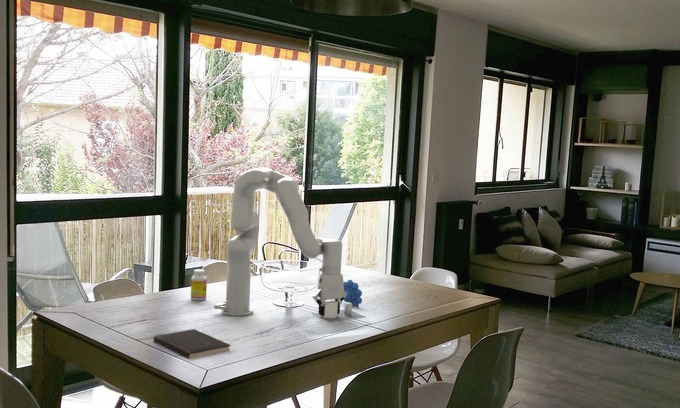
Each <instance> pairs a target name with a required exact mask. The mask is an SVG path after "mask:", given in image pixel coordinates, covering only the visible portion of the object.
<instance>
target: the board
mask: <svg viewBox="0 0 680 408" xmlns="http://www.w3.org/2000/svg"><path fill="white" fill-rule="evenodd" d="M352 310H353V305H352V303H348V302H345V303H344V309H340V311H339V314H338V315H337V317H336V318H324V317H321V316H320V315H319V312H312V313H310V315H313V316H316V317H317V318H320V319H322V320H324V321H326V322H329V323H332V322H340V321H341V322H342V321H348V320H357V319H364V318H367V316H365V315H362V314H360V313H358V312H354V311H352Z"/></svg>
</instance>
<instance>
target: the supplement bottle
mask: <svg viewBox="0 0 680 408" xmlns="http://www.w3.org/2000/svg"><path fill="white" fill-rule="evenodd" d="M205 272H206V270H205V269H199V268H198V269H194V270H193V274H194V275H192V276H191V279H190V283H191V284H190V300H192V301H199V302H201V301H205V300H207V289H208V288H207V287H208V283H207V282H208V278H207V276H206V275H205V274H206V273H205Z"/></svg>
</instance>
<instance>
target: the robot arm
mask: <svg viewBox="0 0 680 408" xmlns="http://www.w3.org/2000/svg"><path fill="white" fill-rule="evenodd" d="M299 188H300V185H299V183H298V181H297V180H296V179H295V178H293V177H291V176H288V175H286V174H283V173H280V172H278V171H275V170H273V169H270V168H267V167H255V168H254V167H253V168H250V169H249V170H247V171H244V172H242V173H241V174H240V175H239V177H237V178H236V181H235V185H234V189H233V199H232V208H231V218H230V223H231V224H230V225H231V227H232V229H233V230H234V231H235V236H234V237H232V238H230V240H229V241H228V243H227V244H226V249H225V253H226V291H225V294H226V295H225V300H223V302H222V303H217V304H216V303H215V304H214V305H213V306H214V309H215V310H220V311H221V313H222V314H224V315H226V316H233V317H236V316H237V317H243V316H249V315H251V314H253V313H254V309H253V308H252V307H250V304H251V303H250V301H251V299H250V298H251V280H252V279H251V275H252V273H251V272H252V271H251V270H252V269H251V268H252V267H251V265H252V264H251V255H252V254H253V253H255V251H256V250H257V247H258V242H259V231H260V230H259V228H260V217H259V213H258V211H256V210H255V193H256V191H258V190H262V189H264V190H267V191H269V192H272V193H274V194H275V196H276V197H277V200H278V201H279V203H280V206H281V208H282V210H283V212H284V214H285V216H286V218H287V220H288V223H289V227H290V230H291V232H292V235H293V237H294V240H295V242H296V244H297V246H298V249H300V252H301V254H302V255H303V256H304V257H306V258H307V259H310V260H311V259H315V258H317V257H318V256H322V263H321V265H322V266H321V267H320V268H319V272H320V275H319V278H318V283H317V291H316V292H315V293H314V294H313V295H312V299H313V300H314V302H316V304H317V305H318V312H317V313H319V315H321V316H324V312H325V306H324V303H325V301H326V300H336V301H338V314H339V311H340V310H341V305H342V303H343V301H344V298H345V297H346V296H347V293H346V292H345V291H344V282H345V281H344V276H343V273H342V271H341V270H342V259H343V258H342V256H343V252H342V251H343V242H342V240H340V239H337V238H336V239H335V238H325V237H324V238H323V237H318V236H315V234H314V233H313V230H312V227H311V225H310V221H309V211H308V208H307V207H306V205H305V203H304V201H303V199H302V196H301V195H300V193H299V191H300V189H299Z"/></svg>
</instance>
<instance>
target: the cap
mask: <svg viewBox="0 0 680 408" xmlns="http://www.w3.org/2000/svg"><path fill="white" fill-rule="evenodd" d="M324 306H325V312H324V316H321V315H320V316H321V317H324V318H336V317H337V315H338V301H336V300H335V299H331V300H326V301H325V303H324Z"/></svg>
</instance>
